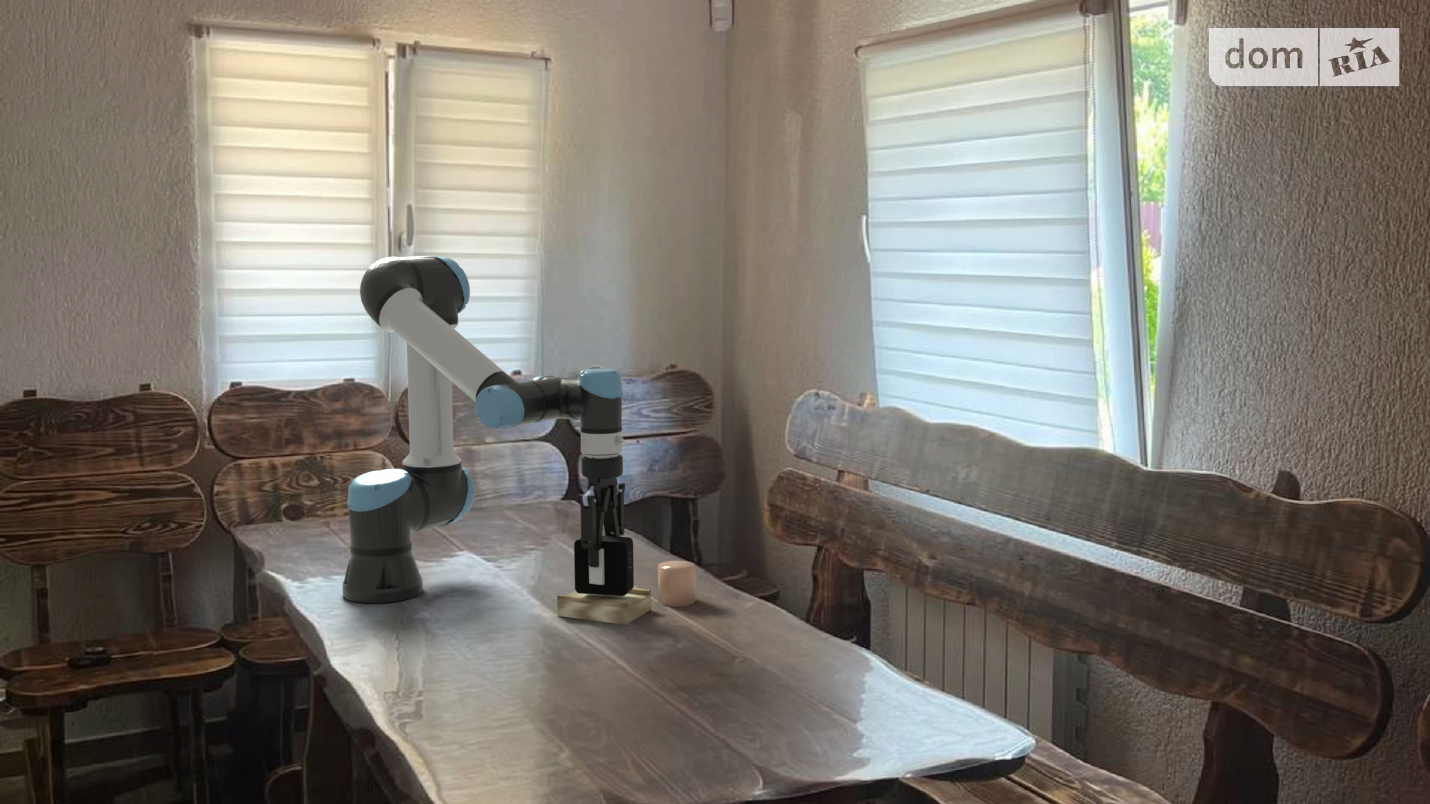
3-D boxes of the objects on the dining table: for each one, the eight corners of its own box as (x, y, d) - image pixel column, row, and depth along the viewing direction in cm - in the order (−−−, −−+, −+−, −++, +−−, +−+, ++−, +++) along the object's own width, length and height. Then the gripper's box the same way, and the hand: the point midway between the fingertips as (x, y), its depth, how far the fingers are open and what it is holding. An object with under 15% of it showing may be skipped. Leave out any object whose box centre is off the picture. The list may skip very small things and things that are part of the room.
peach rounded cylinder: (652, 604, 245) (651, 567, 244) (668, 594, 252) (667, 559, 251) (685, 608, 243) (685, 571, 242) (701, 598, 249) (701, 562, 248)
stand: (557, 615, 238) (557, 595, 238) (584, 601, 247) (584, 581, 247) (625, 624, 232) (625, 604, 232) (650, 609, 242) (650, 589, 241)
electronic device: (627, 596, 236) (626, 542, 235) (574, 593, 238) (573, 539, 237) (633, 590, 240) (633, 537, 239) (582, 587, 242) (581, 534, 241)
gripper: (596, 463, 226) (598, 594, 229) (642, 448, 243) (644, 570, 246) (558, 461, 229) (561, 590, 232) (607, 445, 245) (608, 566, 249)
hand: (604, 579), depth 239 cm, fingers closed on electronic device, 5 cm apart
